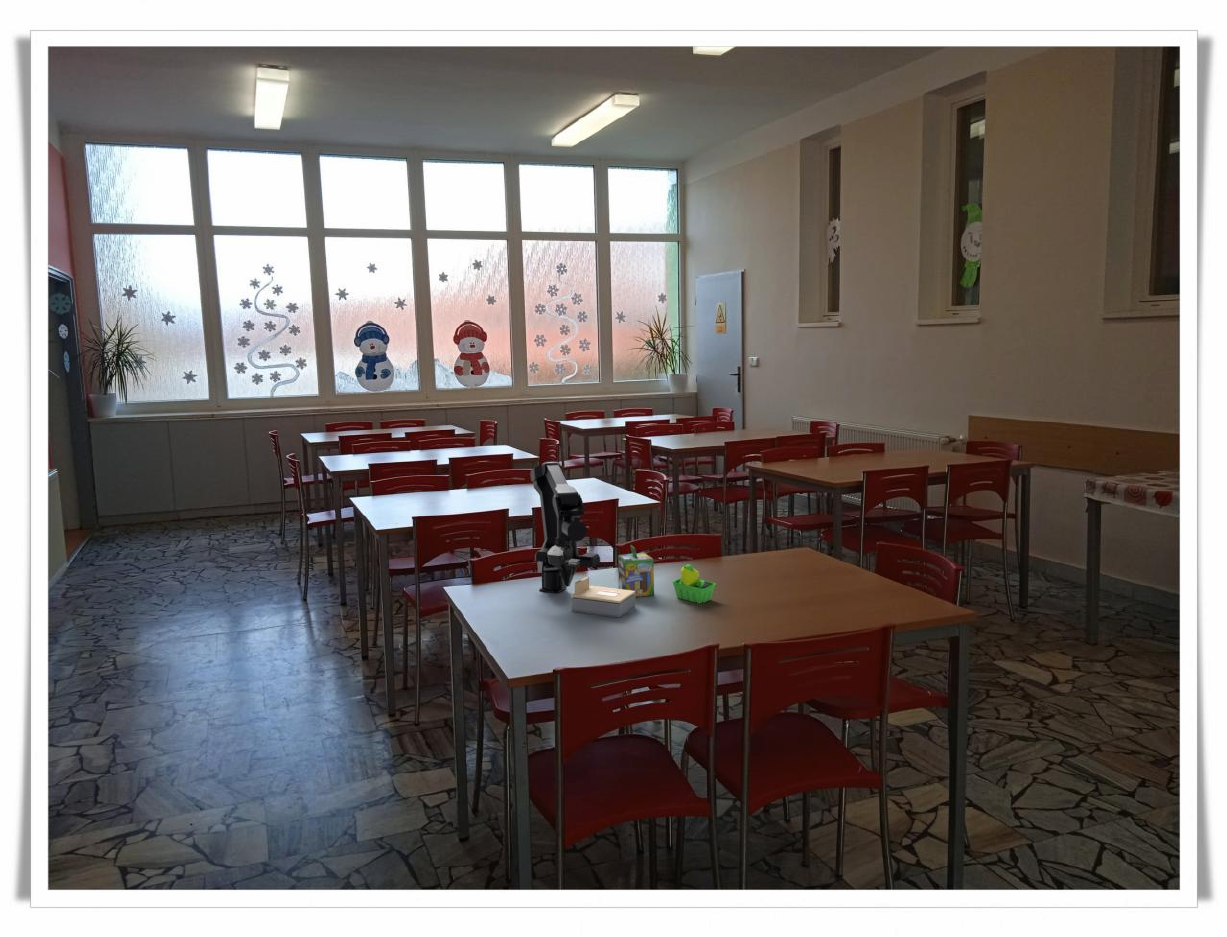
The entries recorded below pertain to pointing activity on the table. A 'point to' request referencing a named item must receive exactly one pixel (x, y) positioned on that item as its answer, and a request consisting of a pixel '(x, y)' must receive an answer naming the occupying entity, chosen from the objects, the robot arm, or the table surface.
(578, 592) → the lid
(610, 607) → the grey shallow rectangular container
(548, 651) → the table surface
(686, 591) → the fruit basket
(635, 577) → the chalk box
